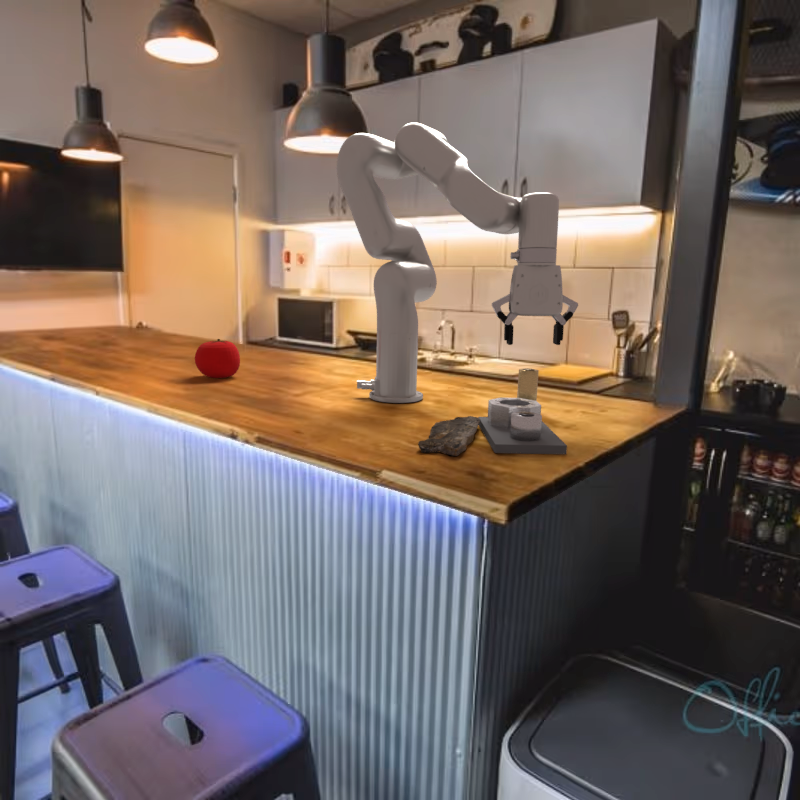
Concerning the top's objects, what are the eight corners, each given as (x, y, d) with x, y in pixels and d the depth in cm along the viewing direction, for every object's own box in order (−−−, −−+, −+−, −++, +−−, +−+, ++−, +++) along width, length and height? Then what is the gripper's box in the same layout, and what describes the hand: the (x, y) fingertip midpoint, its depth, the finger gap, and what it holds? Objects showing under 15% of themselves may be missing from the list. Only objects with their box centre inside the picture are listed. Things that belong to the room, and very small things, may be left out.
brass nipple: (517, 419, 127) (521, 370, 125) (514, 414, 131) (517, 367, 129) (537, 419, 128) (540, 371, 126) (532, 415, 131) (536, 368, 129)
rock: (441, 423, 121) (442, 410, 121) (481, 427, 119) (482, 414, 119) (416, 456, 102) (417, 441, 101) (463, 462, 100) (464, 446, 99)
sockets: (501, 440, 105) (502, 417, 104) (485, 417, 122) (486, 396, 121) (555, 441, 105) (557, 418, 104) (532, 417, 122) (533, 397, 121)
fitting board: (494, 453, 103) (495, 444, 102) (477, 424, 122) (478, 416, 122) (566, 454, 103) (567, 445, 103) (538, 425, 123) (538, 417, 122)
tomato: (234, 381, 162) (232, 341, 160) (189, 380, 162) (188, 340, 160) (245, 374, 174) (244, 337, 172) (204, 373, 174) (203, 336, 172)
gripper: (496, 257, 119) (493, 346, 122) (585, 257, 119) (580, 346, 123) (490, 258, 126) (487, 342, 130) (574, 259, 127) (569, 342, 130)
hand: (533, 344), depth 126 cm, fingers open, 9 cm apart
